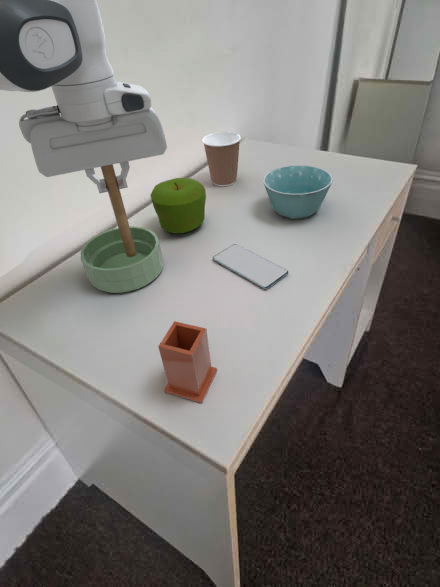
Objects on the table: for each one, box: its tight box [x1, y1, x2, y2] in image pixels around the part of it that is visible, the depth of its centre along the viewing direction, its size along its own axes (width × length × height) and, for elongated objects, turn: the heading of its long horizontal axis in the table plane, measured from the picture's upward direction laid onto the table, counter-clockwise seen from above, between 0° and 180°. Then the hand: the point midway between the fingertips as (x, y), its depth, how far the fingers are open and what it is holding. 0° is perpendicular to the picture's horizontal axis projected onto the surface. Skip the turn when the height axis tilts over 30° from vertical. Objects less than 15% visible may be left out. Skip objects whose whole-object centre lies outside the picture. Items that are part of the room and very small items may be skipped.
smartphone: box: [212, 243, 289, 290], centre depth 74 cm, size 7×1×15 cm
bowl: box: [262, 164, 333, 220], centre depth 88 cm, size 16×16×8 cm
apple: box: [150, 177, 207, 234], centre depth 85 cm, size 12×12×11 cm
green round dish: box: [79, 225, 164, 294], centre depth 75 cm, size 15×15×6 cm
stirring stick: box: [100, 164, 137, 257], centre depth 66 cm, size 2×2×18 cm
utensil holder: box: [157, 320, 218, 404], centre depth 52 cm, size 6×6×10 cm
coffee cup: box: [201, 131, 242, 187], centre depth 102 cm, size 10×10×12 cm
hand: (113, 189), depth 63 cm, fingers closed on stirring stick, 2 cm apart
